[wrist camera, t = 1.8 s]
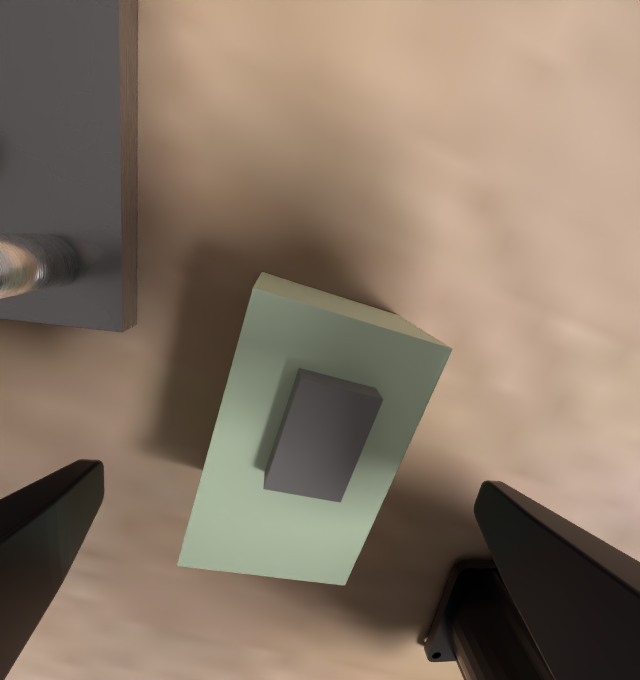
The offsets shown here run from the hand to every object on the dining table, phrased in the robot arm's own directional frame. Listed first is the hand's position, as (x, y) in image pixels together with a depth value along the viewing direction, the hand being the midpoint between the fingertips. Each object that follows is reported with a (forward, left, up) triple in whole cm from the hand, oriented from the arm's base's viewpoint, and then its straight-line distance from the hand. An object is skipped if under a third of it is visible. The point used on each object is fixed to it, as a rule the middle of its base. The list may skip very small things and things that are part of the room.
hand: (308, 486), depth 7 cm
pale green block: (0, 0, -5) cm, 5 cm away
